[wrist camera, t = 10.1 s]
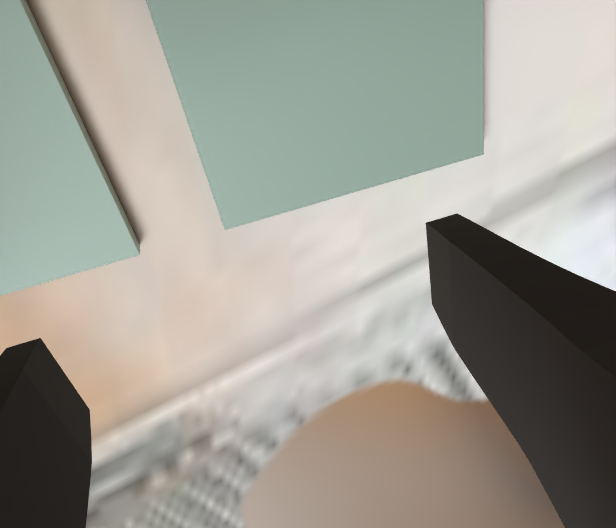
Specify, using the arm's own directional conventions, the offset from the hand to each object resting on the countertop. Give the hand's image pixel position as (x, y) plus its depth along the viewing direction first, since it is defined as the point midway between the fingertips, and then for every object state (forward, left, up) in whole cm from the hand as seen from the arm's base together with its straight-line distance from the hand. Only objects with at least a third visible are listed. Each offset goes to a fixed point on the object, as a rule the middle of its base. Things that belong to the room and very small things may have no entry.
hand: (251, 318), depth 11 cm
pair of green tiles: (-2, +1, -9) cm, 10 cm away
